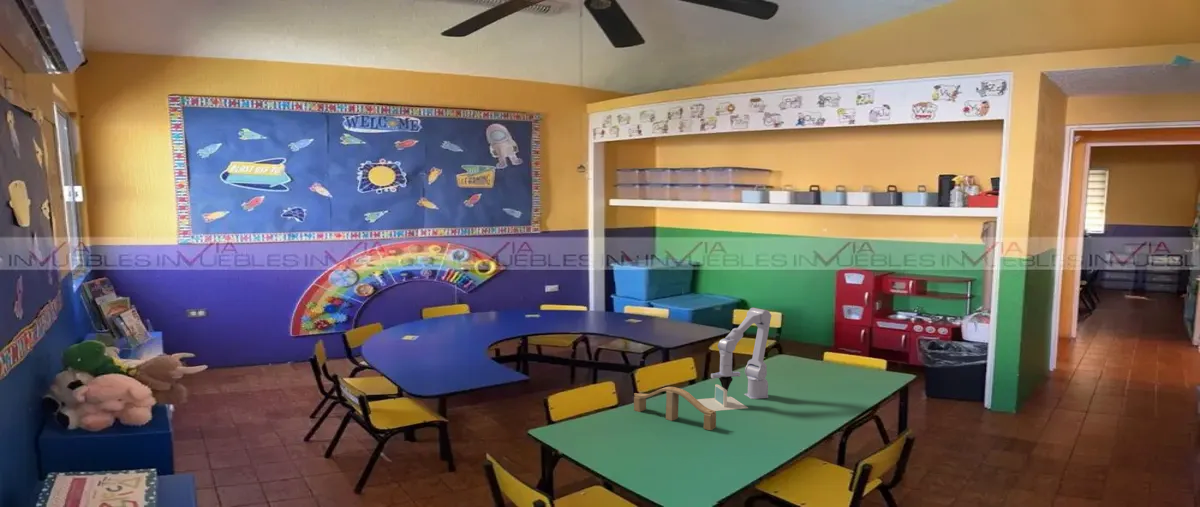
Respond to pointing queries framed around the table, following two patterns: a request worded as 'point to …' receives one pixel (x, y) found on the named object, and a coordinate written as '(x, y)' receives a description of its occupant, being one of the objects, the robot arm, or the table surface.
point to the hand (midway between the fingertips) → (725, 391)
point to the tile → (721, 395)
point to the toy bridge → (673, 402)
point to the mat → (715, 406)
